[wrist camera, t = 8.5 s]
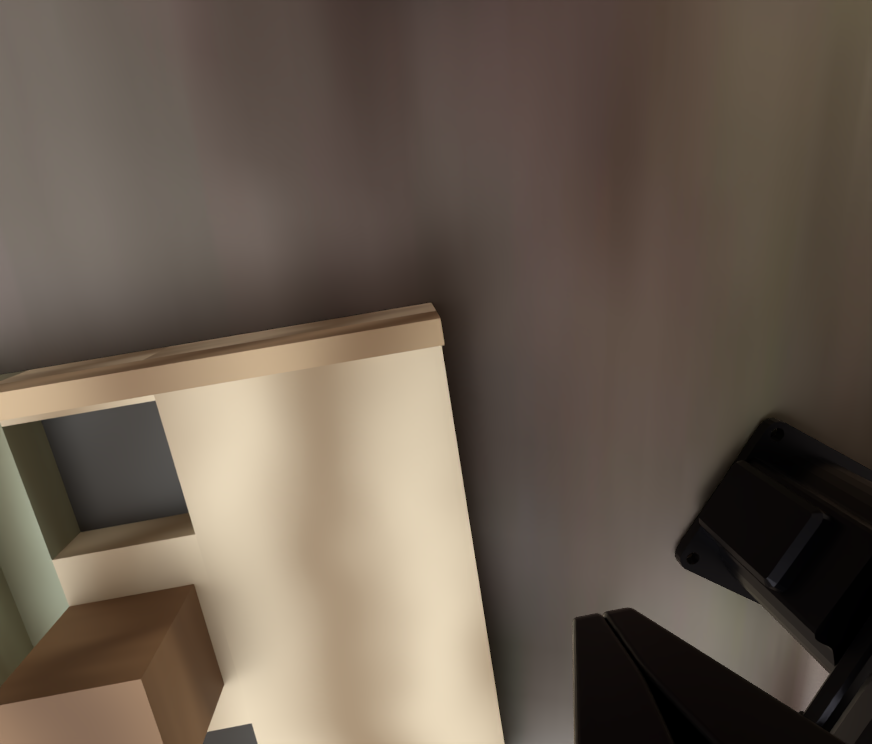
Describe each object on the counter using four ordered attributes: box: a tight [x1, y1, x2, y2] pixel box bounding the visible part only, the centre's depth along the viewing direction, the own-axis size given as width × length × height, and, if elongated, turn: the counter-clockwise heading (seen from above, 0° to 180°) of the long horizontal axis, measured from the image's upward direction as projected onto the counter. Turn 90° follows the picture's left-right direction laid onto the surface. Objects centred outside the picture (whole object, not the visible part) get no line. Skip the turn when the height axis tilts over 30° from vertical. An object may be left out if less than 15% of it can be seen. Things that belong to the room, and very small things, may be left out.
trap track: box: [0, 303, 504, 744], centre depth 19 cm, size 16×19×4 cm
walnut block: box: [0, 584, 224, 744], centre depth 17 cm, size 4×4×4 cm
